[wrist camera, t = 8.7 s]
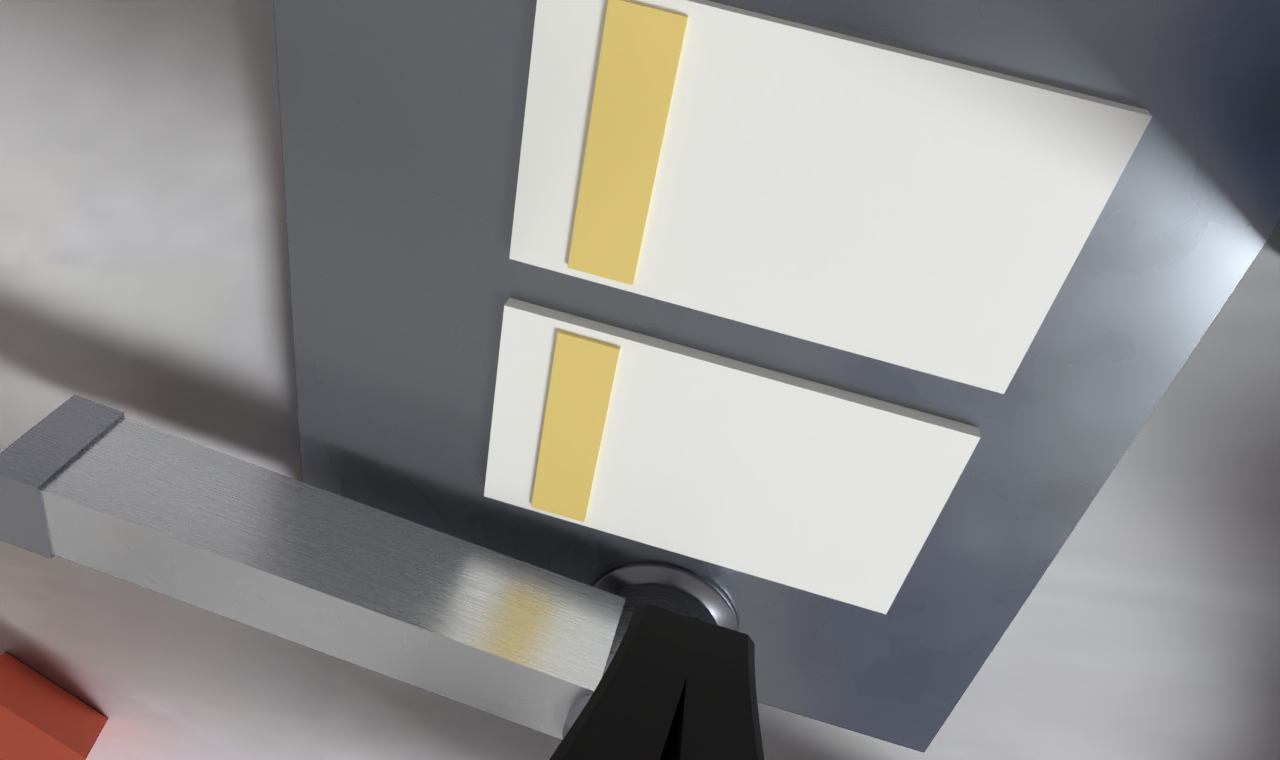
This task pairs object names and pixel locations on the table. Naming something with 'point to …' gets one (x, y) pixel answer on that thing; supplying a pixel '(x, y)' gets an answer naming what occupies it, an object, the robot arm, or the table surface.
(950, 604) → the chassis
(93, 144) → the table surface
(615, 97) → the label
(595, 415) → the label
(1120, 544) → the table surface
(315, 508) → the bar
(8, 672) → the french fries container
